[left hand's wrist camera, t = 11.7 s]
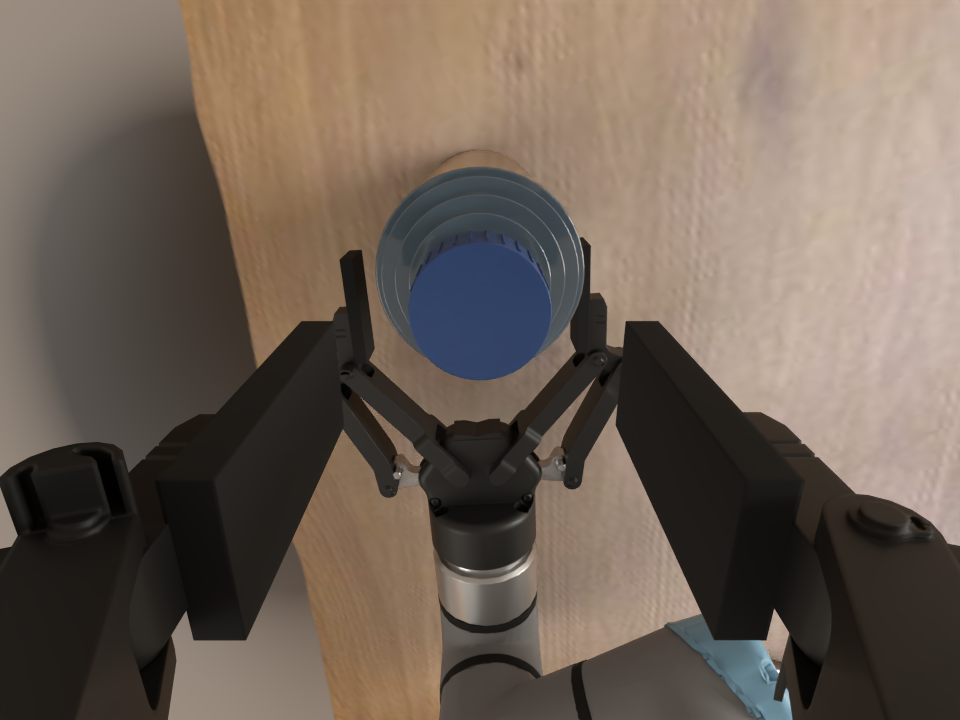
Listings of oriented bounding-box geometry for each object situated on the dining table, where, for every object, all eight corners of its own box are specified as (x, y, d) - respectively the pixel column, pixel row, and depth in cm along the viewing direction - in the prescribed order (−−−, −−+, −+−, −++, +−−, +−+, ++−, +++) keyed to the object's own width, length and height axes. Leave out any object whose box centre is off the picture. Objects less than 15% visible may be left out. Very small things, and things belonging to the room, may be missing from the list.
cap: (392, 257, 20) (382, 272, 18) (520, 208, 19) (525, 217, 17) (443, 374, 21) (439, 400, 19) (563, 332, 21) (572, 354, 19)
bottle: (399, 177, 39) (305, 235, 18) (517, 130, 37) (563, 132, 17) (446, 291, 41) (412, 455, 21) (557, 250, 40) (638, 379, 20)
